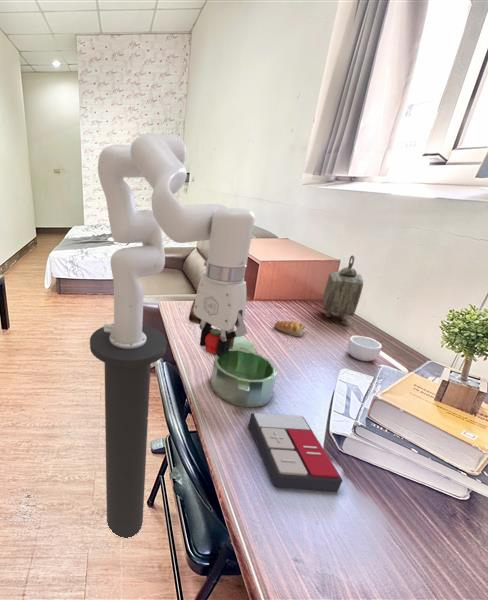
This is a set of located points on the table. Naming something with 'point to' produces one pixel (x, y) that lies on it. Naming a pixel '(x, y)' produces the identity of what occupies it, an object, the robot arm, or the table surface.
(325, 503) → the table surface
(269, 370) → the tin
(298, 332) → the pastry
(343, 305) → the tabletop clock
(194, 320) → the sunglasses case
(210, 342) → the strawberry
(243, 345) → the lid
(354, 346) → the teacup
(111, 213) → the robot arm
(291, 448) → the calculator
